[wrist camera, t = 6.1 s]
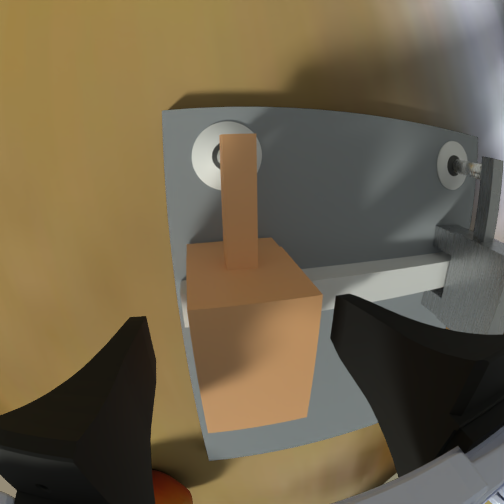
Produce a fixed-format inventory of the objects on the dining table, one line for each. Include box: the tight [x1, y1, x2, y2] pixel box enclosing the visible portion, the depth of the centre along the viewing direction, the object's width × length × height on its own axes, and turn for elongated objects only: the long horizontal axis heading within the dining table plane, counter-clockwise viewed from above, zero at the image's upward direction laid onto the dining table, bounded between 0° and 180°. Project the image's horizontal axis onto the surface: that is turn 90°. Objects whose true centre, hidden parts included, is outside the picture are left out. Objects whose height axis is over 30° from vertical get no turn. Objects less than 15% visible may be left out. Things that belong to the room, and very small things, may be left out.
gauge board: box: [162, 107, 478, 461], centre depth 16 cm, size 18×22×2 cm
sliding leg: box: [186, 133, 323, 433], centre depth 11 cm, size 4×9×6 cm, turn 0°
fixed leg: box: [421, 156, 504, 335], centre depth 13 cm, size 2×9×6 cm, turn 0°
